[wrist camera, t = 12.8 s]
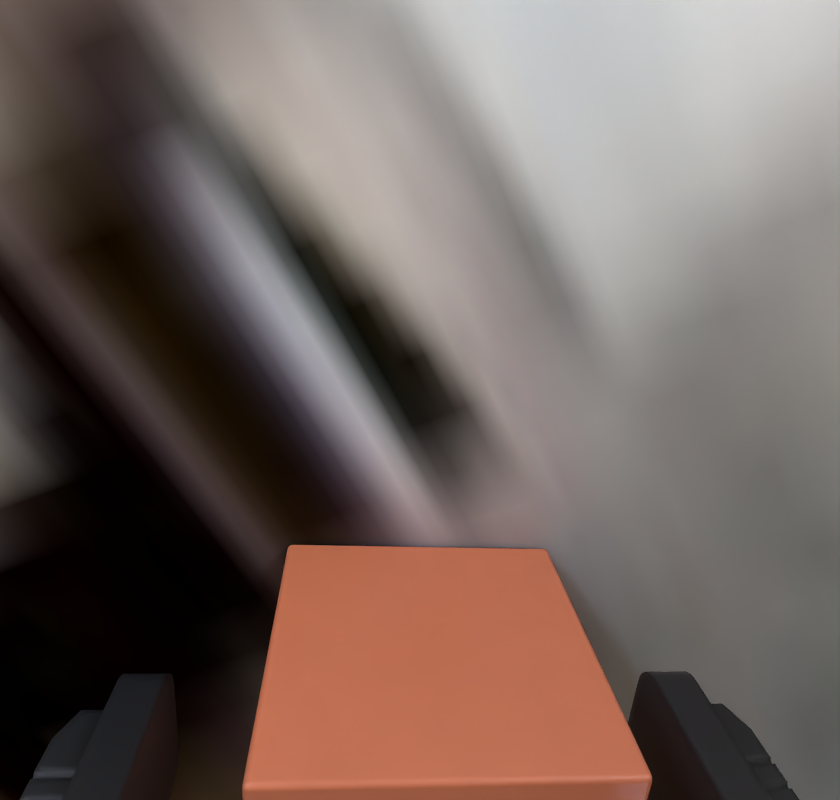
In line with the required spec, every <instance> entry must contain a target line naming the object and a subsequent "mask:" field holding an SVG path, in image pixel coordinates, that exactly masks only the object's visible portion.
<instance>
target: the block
mask: <svg viewBox="0 0 840 800" xmlns="http://www.w3.org/2000/svg"><path fill="white" fill-rule="evenodd" d="M651 784H652V776H651V773H650V770H649V768H648V766H647V764H646V762H645V760H644V758H643V755H642V753H641V751H640V749H639V747H638V745H637V743H636V740H635V738H634V736H633V734H632V732H631V730H630V728H629V725H628V723H627V721H626V719H625V717H624V715H623V713H622V710H621V708H620V706H619V704H618V702H617V700H616V697H615V695H614V693H613V691H612V689H611V687H610V685H609V682H608V680H607V678H606V676H605V674H604V672H603V670H602V667H601V665H600V663H599V661H598V659H597V657H596V655H595V652H594V650H593V648H592V646H591V644H590V642H589V640H588V637H587V635H586V633H585V631H584V629H583V627H582V625H581V622H580V620H579V618H578V616H577V614H576V612H575V610H574V607H573V605H572V603H571V601H570V599H569V597H568V595H567V592H566V590H565V588H564V586H563V584H562V582H561V579H560V577H559V575H558V573H557V571H556V569H555V567H554V564H553V562H552V560H551V558H550V556H549V554H548V552H547V550H545V549H512V548H452V547H392V546H332V545H290V546H289V547H288V549H287V555H286V560H285V565H284V570H283V576H282V581H281V586H280V591H279V596H278V602H277V607H276V612H275V617H274V623H273V628H272V633H271V638H270V643H269V649H268V654H267V659H266V664H265V670H264V675H263V680H262V685H261V690H260V696H259V701H258V706H257V711H256V717H255V722H254V727H253V732H252V738H251V743H250V748H249V753H248V758H247V764H246V769H245V774H244V779H243V785H242V796H243V800H647V798H648V795H649V791H650V787H651Z"/></svg>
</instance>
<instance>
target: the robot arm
mask: <svg viewBox="0 0 840 800" xmlns="http://www.w3.org/2000/svg"><path fill="white" fill-rule="evenodd" d="M628 725H629V728H630V730H631V732H632V734H633V736H634V738H635V740H636V743H637V745H638V747H639V749H640V751H641V753H642V755H643V758H644V760H645V762H646V764H647V766H648V768H649V770H650V773H651V776H652V784H651V787H650V791H649V795H648V798H647V800H799V799H798V797H797V796H796V794H795V793H794V791H793V790H792V789H789V788H788V786H787V781H786V780H785V778H784V777H783V775H782V774H781V772H780V771H779V769H778V768H777V766H776V765H775V764H772V763H771V758H770V756H769V755H768V753H767V752H766V750H765V749H764V747H763V746H762V745H761V743H760V742H759V740H758V739H757V737H756V736H755V734H754V733H753V731H752V730H751V729H750V728H749V727H748V726H747V725H746V724H745V723H744V722H742V721H741V720H740V719H739V718H738V717H737V716H736V715H734V714H733V713H732V712H731V711H730V710H729V709H728V708H726V707H725V706H724V705H723V704H711V703H710V702H709V700H708V698H707V697H706V695H705V694H704V692H703V691H702V689H701V688H700V686H699V684H698V683H697V681H696V680H695V678H694V677H693V676H692V675H691V674H690V673H688V672H644V673H642V674H641V676H640V678H639V681H638V684H637V688H636V692H635V697H634V701H633V705H632V709H631V713H630V717H629V721H628ZM178 749H179V743H178V728H177V715H176V702H175V689H174V679H173V676H172V674H170V673H167V674H123V675H121V676H120V678H119V679H118V681H117V683H116V685H115V687H114V689H113V691H112V693H111V696H110V698H109V700H108V702H107V704H106V706H105V708H104V710H81V711H80V712H79V713H78V714H77V715H76V716H75V717H74V718H72V719H71V720H70V721H69V722H68V723H67V724H66V725H65V726H64V727H63V728H62V729H61V730H60V731H59V732H58V733H57V734H56V735H55V736H54V737H53V738H52V739H51V741H50V743H49V745H48V747H47V749H46V751H45V752H44V754H43V756H42V758H41V760H40V762H39V764H38V766H37V768H36V769H35V771H34V776H33V779H30V781H29V783H28V785H27V786H26V788H25V790H24V792H23V794H22V796H21V798H20V800H169V798H170V794H171V791H172V788H173V784H174V780H175V775H176V769H177V762H178Z"/></svg>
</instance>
